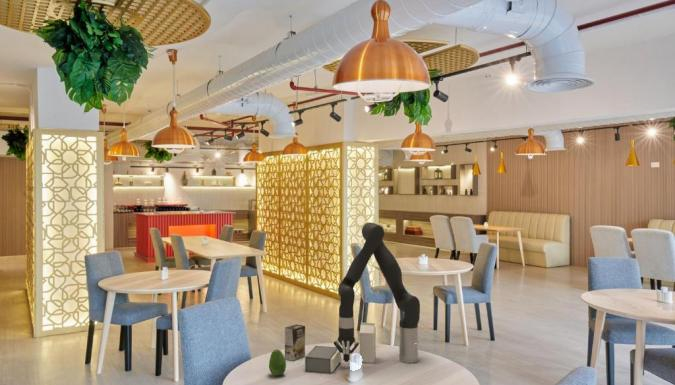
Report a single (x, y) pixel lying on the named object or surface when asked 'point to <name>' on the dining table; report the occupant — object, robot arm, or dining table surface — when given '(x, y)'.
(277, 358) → the avocado
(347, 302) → the robot arm
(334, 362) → the tray
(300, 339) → the coffee box
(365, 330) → the milk carton
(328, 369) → the player housing
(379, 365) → the dining table surface
